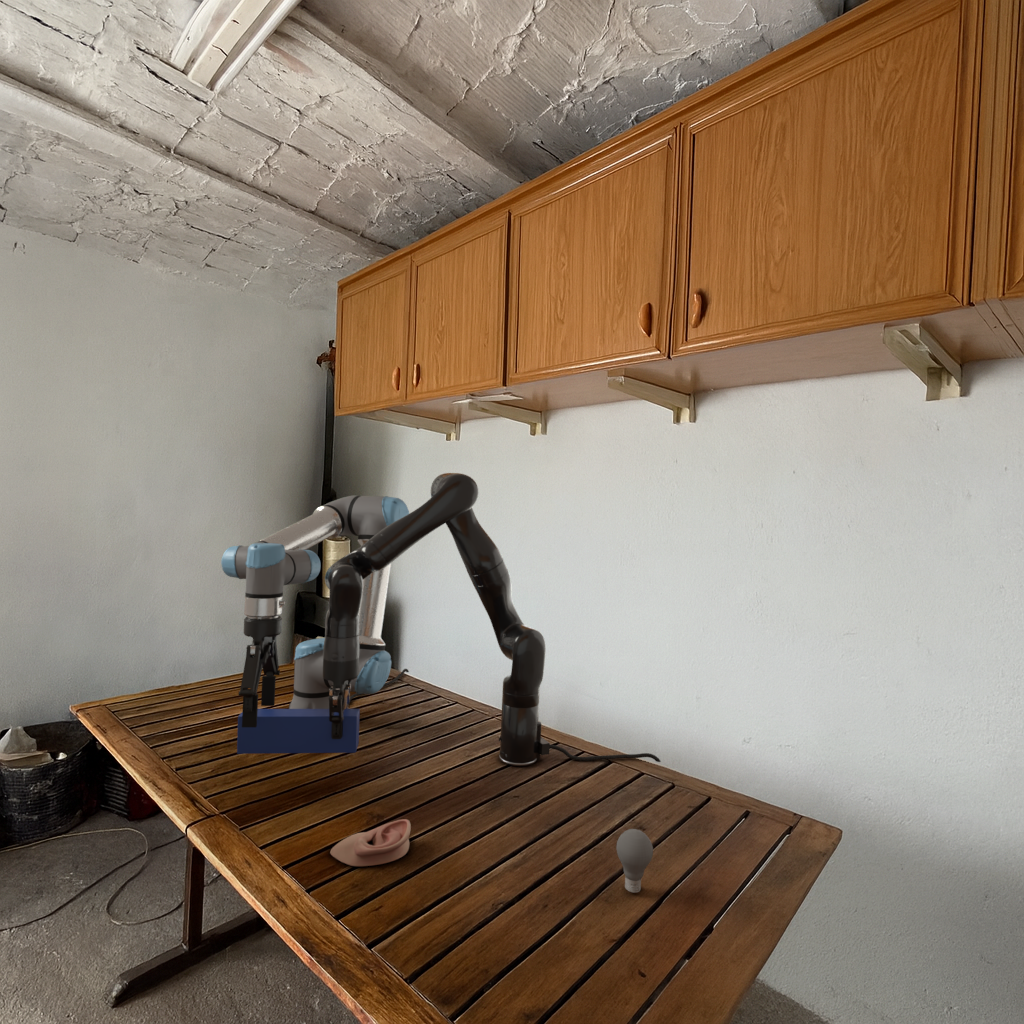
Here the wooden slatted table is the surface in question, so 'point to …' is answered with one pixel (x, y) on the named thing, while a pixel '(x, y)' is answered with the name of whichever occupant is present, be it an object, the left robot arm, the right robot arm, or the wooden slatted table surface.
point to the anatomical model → (374, 845)
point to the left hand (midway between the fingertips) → (259, 715)
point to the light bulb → (634, 857)
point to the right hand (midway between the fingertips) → (338, 733)
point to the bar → (298, 732)
